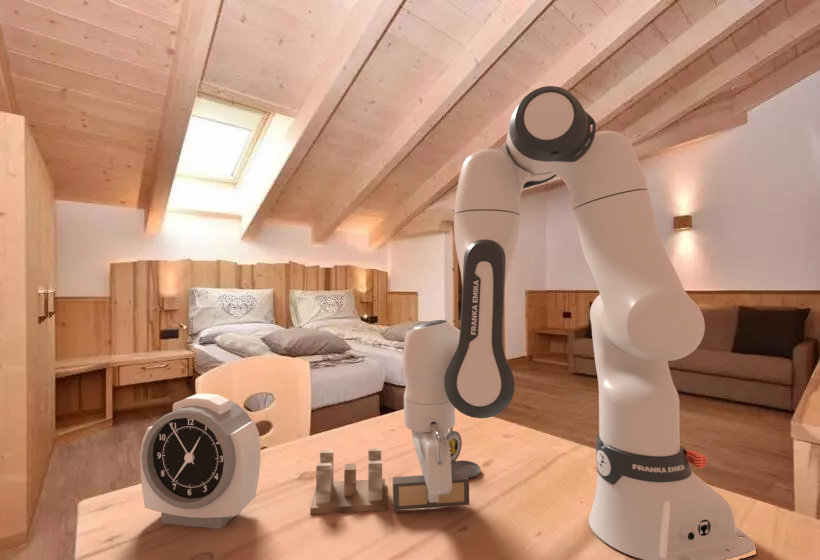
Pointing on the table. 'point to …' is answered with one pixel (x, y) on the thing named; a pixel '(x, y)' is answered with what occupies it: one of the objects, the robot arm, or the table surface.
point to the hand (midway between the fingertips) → (430, 494)
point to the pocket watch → (455, 448)
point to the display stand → (349, 487)
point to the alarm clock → (200, 462)
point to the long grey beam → (414, 492)
